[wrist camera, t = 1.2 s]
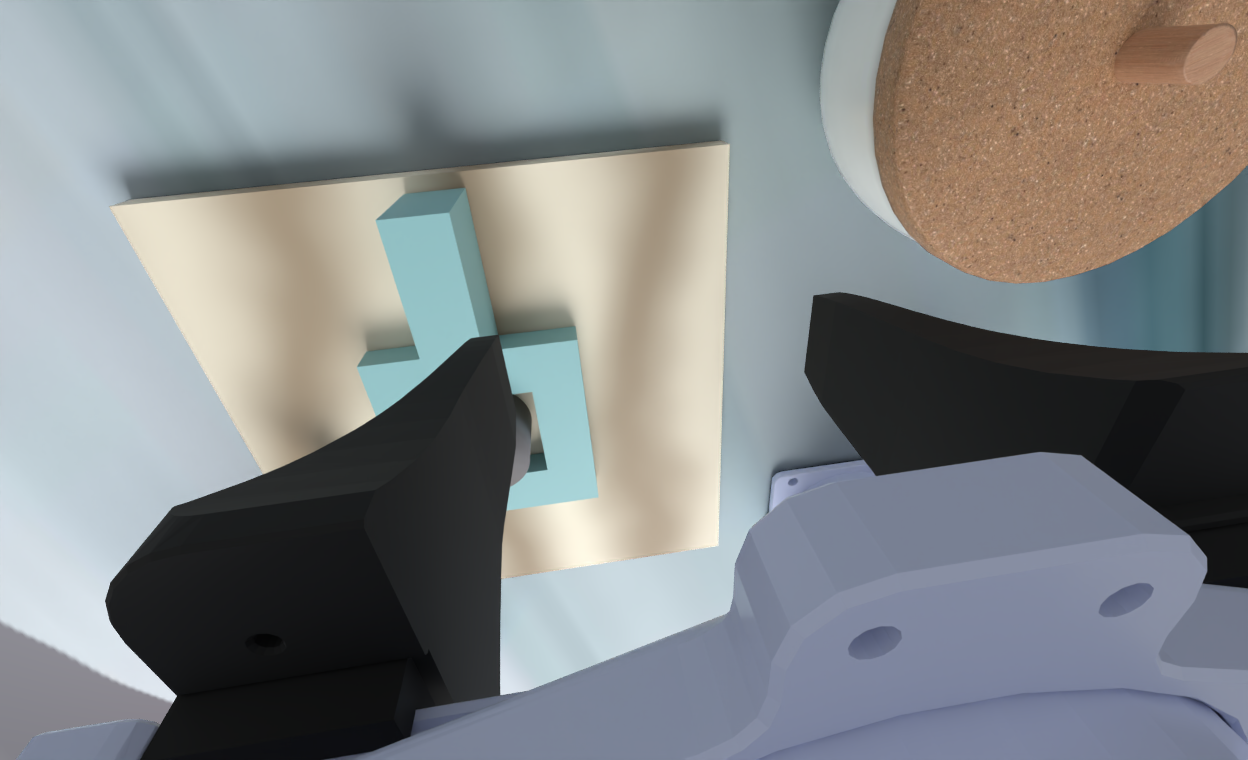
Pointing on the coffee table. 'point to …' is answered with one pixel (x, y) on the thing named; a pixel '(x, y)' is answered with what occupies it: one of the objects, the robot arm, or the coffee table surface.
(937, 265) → the coffee table surface
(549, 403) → the angular block
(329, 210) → the board
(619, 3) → the coffee table surface
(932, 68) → the lidded jar
